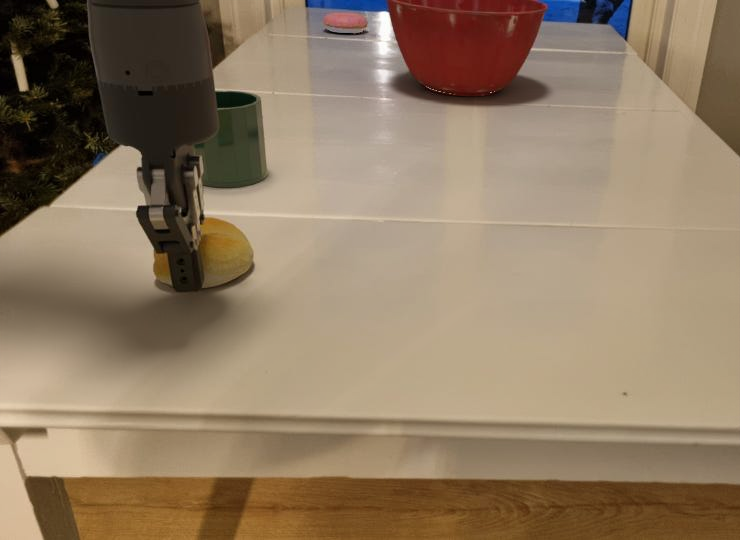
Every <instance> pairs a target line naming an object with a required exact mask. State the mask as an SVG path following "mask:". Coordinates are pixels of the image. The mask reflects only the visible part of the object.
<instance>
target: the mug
mask: <svg viewBox="0 0 740 540" xmlns="http://www.w3.org/2000/svg"><path fill="white" fill-rule="evenodd" d="M215 94H216V102H217V110H218V118H219V131H218V132H217V134H216V135H215V136H214V137H213V138H211V139H209V140H207V141H205V142H202V143H199V144H195V145H194V154H202V157H203V159H204V165H203V169H204V172H203V186H205V187H210V188H221V189H231V188H241V187H247V186H251V185H255V184H257V183H260V182H262V181H263V180H265V179H266V177H267V176H268V166H267V165H268V164H267V154H266V143H265V142H266V141H265V131H264V129H265V128H264V120H263V108H262V106H263V105H262V97H261V96H259V95H257V94H255V93H252V92H247V91H239V90H215Z"/></svg>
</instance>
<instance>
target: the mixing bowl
mask: <svg viewBox="0 0 740 540" xmlns="http://www.w3.org/2000/svg"><path fill="white" fill-rule="evenodd" d="M386 4H387V9H388V15H389V19H390V23H391V28H392V31H393V34H394V37H395V40H396V43H397V46H398V48H399V52H400V54H401V57H402V59H403V61H404V63H405V66H406V67H407V69H408V71H409V72H410V74H411V75H412V76H413V78H414V79H416V81H418V82H419V83H420V84H422V85H423V86H424V87H425V88H426V89H427V90H430V91H432V92H434V93H439V94H443V95H448V96H458V97H484V96H489V95H493V94H496V93H498V92H499V90H502V89H504V88H505V87H507V86H508V85H509V84H510V83H511V82H512V81H513V80H514V79H515V78H516V77H517V75H518V74H519V72H520V71H521V69H522V67H523V66H524V64H525V62H526V60H527V58H528V56H529V55H530V52H531V50H532V48H533V46H534V44H535V41H536V39H537V37H538V35H539V31H540V29H541V26H542V23H543V21H544V17H545V14H546V11H547V10H548V9H549V6H548V4H547V3H545V2H542V1H539V0H386ZM426 86H427V87H429V88H431V89H434V90H437V91H434V90H431V89H429V88H427V87H426ZM438 91H441V92H438ZM494 91H495V92H494ZM443 92H445V93H443ZM490 92H492V93H490ZM449 93H451V94H449Z"/></svg>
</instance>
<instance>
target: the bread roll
mask: <svg viewBox="0 0 740 540" xmlns="http://www.w3.org/2000/svg"><path fill="white" fill-rule="evenodd" d="M200 227H201V230H202V237H201V241H199V244H200V251H201V258H202V265H203V272H204V282H203V285H202V288H201V289H207V288H213V287H214V288H215V287H217V286H221V285H224V284H226V283H228V282H231V281H233V280H235V279H237V278H239V277H240V276H242V275H243V274H246V273H247V271H249V269H250V268H251V266H252V263H253V261H254V253H255V252H254V249H253V247H252V245H251V243H250V240H249V239H248V238H247V236H246V234H245V233H244V232H243V231H242V230H240V229H239V228H238V227H237V226H236V225H235V224H234V223H231V222H229V221H226V220H224V219H220V218H216V217H212V216H211V217H209V216H208V217H207V216H205V220H204V222H203V225H200ZM153 259H154V260H153V261H154V262H153V264H152V271H153V274H154V276H155V278H156V279H157V280H158V281H159V282H161V283H163V284H167V285H169V286H171V287H172V281H171V275H170V269H169V263H168V257H167V253H164V254H157V253H156V251H155V249H154V248H153Z"/></svg>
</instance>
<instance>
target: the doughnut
mask: <svg viewBox="0 0 740 540" xmlns="http://www.w3.org/2000/svg"><path fill="white" fill-rule="evenodd" d="M322 23H323V26H324V25H326V26H329V27H335V28H342V29H362V28H366V27H367V28H368V25H369V23H368V18H367V17H365V15H363V14H360V13H358V12H357V13H356V12H348V11H346V12H345V11H343V12H341V11H339V12H330V13H326V15H324V18H323V19H322ZM362 33H363V32H361V33H360V34H362ZM352 35H357V34H356V33H353V34H352Z"/></svg>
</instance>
